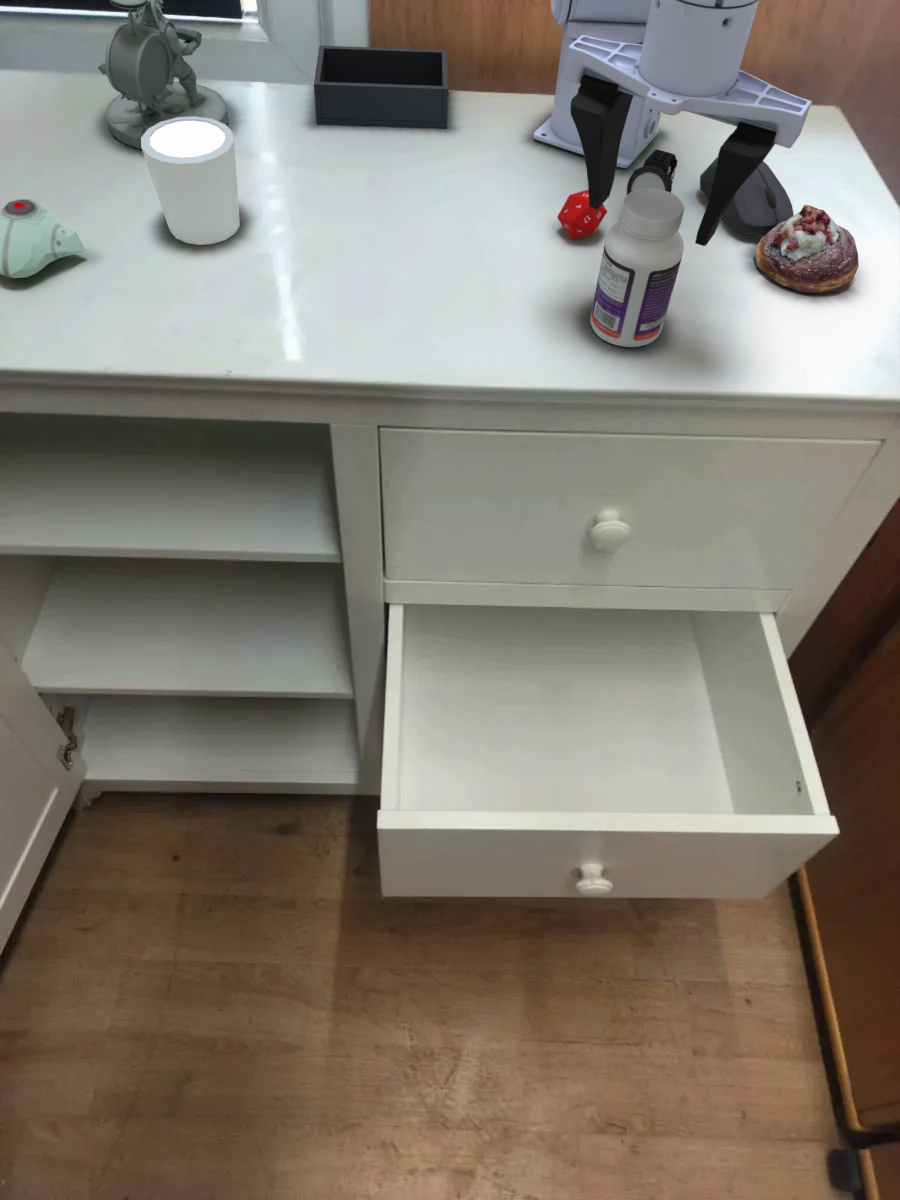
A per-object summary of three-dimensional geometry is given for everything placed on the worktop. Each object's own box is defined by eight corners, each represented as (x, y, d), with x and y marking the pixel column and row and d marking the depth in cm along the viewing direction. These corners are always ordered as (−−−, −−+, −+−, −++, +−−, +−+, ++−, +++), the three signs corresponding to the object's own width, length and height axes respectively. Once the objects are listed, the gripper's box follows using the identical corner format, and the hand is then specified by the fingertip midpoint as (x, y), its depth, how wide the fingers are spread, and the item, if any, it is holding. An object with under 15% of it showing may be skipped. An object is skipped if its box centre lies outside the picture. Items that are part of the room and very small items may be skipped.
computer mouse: (741, 245, 73) (757, 199, 69) (684, 186, 77) (697, 140, 74) (799, 233, 74) (817, 187, 71) (739, 176, 79) (754, 131, 76)
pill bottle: (659, 307, 68) (693, 185, 60) (662, 353, 65) (698, 230, 57) (589, 300, 68) (613, 178, 60) (588, 345, 65) (613, 222, 57)
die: (546, 208, 73) (567, 185, 69) (581, 199, 74) (604, 176, 70) (560, 250, 73) (583, 230, 69) (595, 240, 74) (619, 220, 70)
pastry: (737, 267, 71) (758, 208, 67) (778, 228, 75) (800, 170, 71) (830, 308, 68) (857, 250, 64) (867, 266, 72) (895, 208, 68)
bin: (445, 88, 86) (447, 49, 83) (446, 128, 82) (448, 88, 79) (322, 84, 86) (319, 45, 83) (316, 124, 81) (313, 84, 79)
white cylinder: (144, 236, 70) (121, 148, 64) (190, 193, 74) (172, 106, 68) (220, 258, 69) (203, 170, 63) (263, 213, 73) (251, 127, 67)
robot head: (67, 301, 66) (97, 241, 69) (49, 256, 62) (81, 194, 66) (-38, 285, 66) (-3, 226, 69) (-62, 239, 63) (-24, 179, 66)
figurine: (249, 107, 83) (227, -43, 73) (190, 163, 77) (158, 7, 67) (149, 84, 84) (115, -66, 75) (84, 136, 78) (38, -19, 69)
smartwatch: (612, 213, 75) (624, 154, 71) (653, 193, 77) (666, 135, 73) (649, 235, 73) (663, 177, 69) (689, 214, 75) (705, 156, 71)
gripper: (556, -22, 48) (527, 213, 59) (817, 49, 44) (734, 285, 55) (609, -62, 51) (572, 166, 63) (854, 1, 48) (769, 231, 59)
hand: (651, 219), depth 59 cm, fingers open, 7 cm apart
